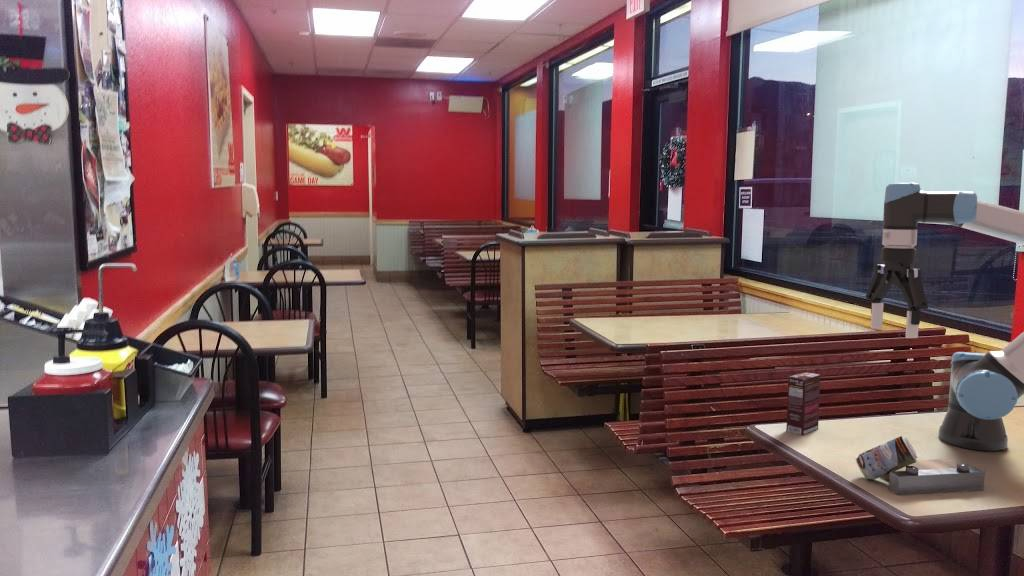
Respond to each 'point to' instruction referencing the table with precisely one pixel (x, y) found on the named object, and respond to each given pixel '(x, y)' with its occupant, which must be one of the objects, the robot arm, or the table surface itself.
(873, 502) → the table surface
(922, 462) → the brown wooden board
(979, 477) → the stop bar
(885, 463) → the beverage can
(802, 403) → the supplement box
